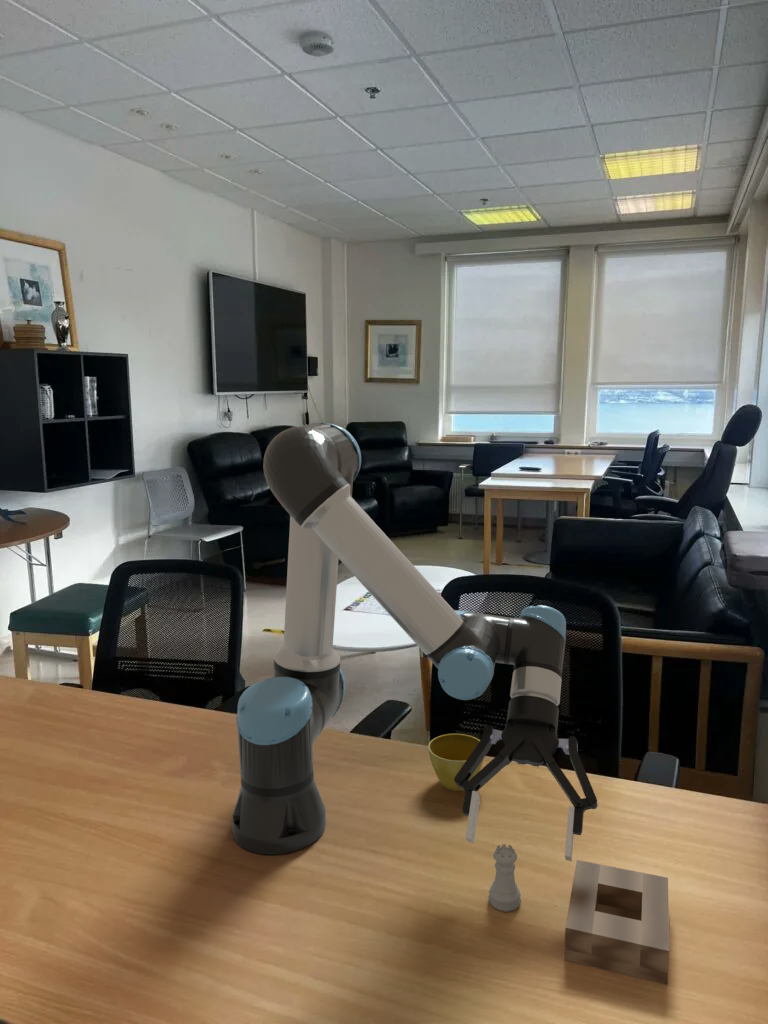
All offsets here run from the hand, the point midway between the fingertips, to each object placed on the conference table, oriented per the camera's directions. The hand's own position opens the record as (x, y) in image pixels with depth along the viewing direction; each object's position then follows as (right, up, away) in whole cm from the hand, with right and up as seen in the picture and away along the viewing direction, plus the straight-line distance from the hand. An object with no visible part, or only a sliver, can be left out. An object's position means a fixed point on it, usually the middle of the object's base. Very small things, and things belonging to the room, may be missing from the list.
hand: (517, 849), depth 103 cm
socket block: (+12, -8, -6) cm, 16 cm away
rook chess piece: (-2, -7, 0) cm, 8 cm away
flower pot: (-5, -2, +31) cm, 31 cm away
